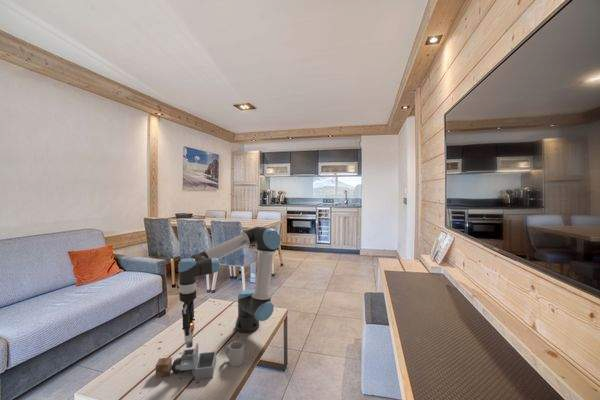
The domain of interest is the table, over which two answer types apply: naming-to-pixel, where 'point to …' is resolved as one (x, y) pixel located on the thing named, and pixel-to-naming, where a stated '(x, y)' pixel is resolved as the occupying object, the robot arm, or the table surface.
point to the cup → (235, 353)
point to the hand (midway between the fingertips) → (189, 337)
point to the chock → (163, 367)
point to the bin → (205, 365)
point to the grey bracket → (186, 361)
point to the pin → (190, 343)
